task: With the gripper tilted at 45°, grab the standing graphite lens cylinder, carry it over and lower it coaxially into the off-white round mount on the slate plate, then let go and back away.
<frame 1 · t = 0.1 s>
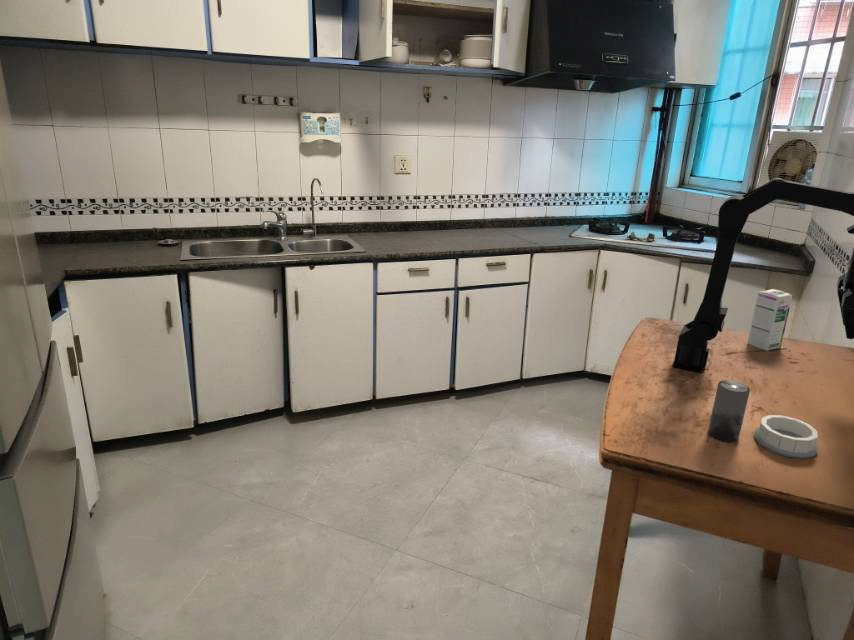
hand: (847, 331, 122), 15 cm above the table, tool pointing down, fingers open, 9 cm apart
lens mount: (784, 443, 108), on the table
syrup box: (763, 346, 153), on the table
lens: (723, 435, 110), on the table
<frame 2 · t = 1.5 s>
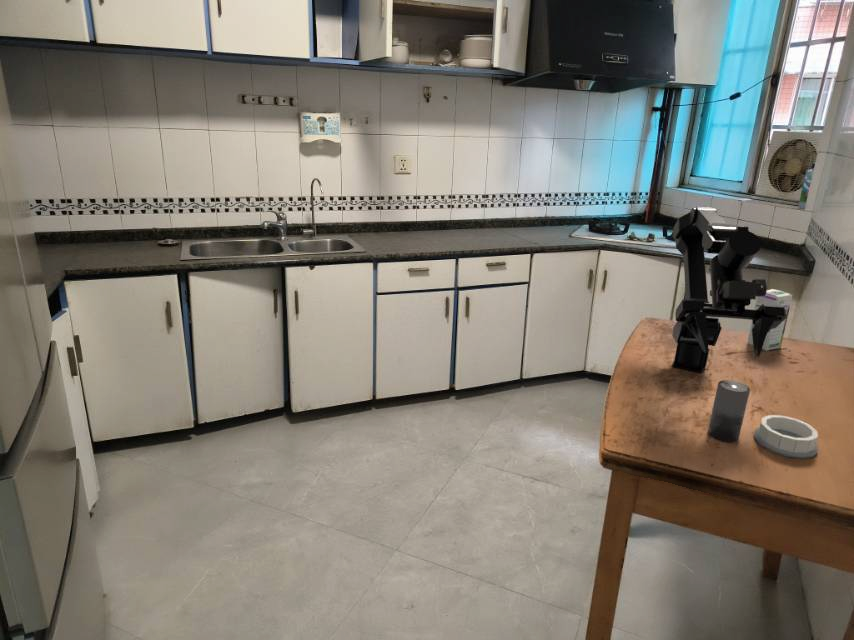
hand: (731, 354, 112), 13 cm above the table, tool tilted 45°, fingers open, 9 cm apart
nothing on the table moved.
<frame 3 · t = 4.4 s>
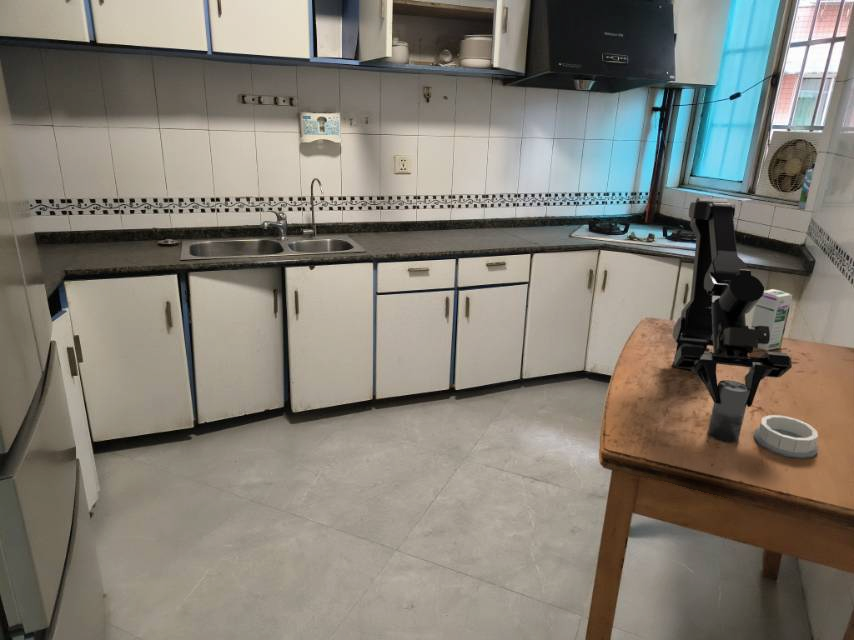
hand: (732, 404, 106), 7 cm above the table, tool tilted 45°, fingers closed on lens, 5 cm apart
lens: (723, 435, 110), on the table, touching gripper
everything else where it was.
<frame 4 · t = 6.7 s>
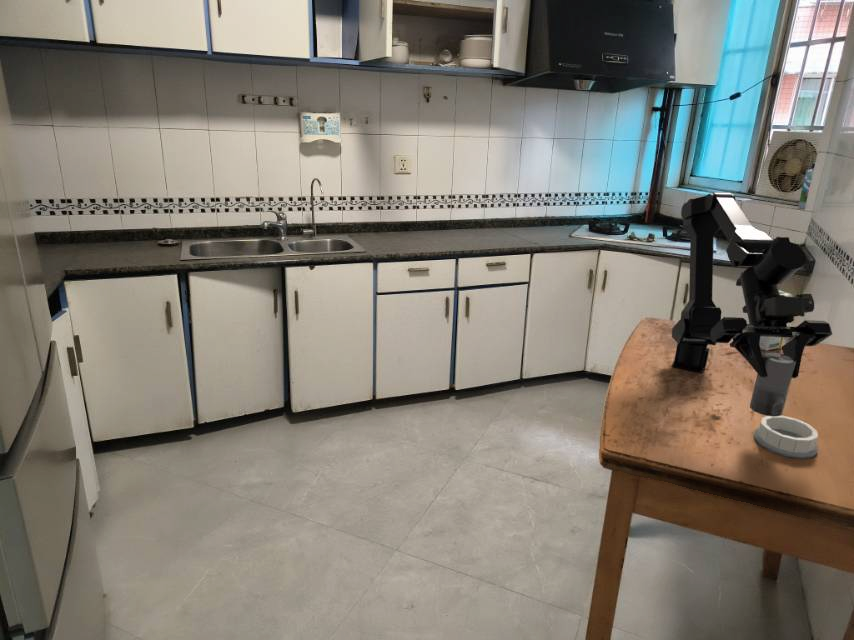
hand: (779, 376, 102), 14 cm above the table, tool tilted 45°, fingers closed on lens, 5 cm apart
lens: (765, 409, 106), point 6 cm above the table, touching gripper
everything else where it was.
when the fingers open (9 cm above the table, at t = 9.0 s): lens drops 1 cm, resting on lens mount.
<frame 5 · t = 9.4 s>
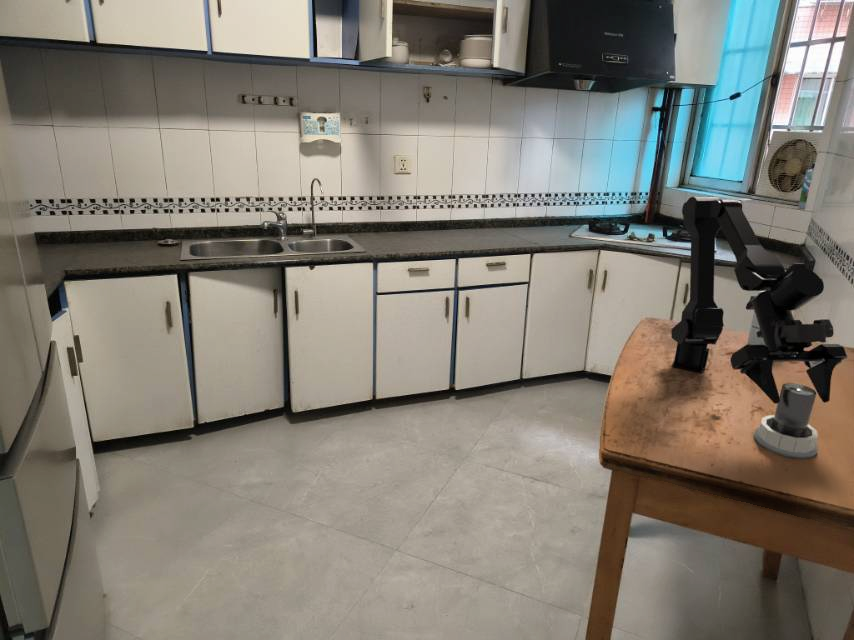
hand: (802, 402, 103), 9 cm above the table, tool tilted 45°, fingers open, 9 cm apart
lens: (785, 439, 107), point 1 cm above the table, touching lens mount
everything else where it was.
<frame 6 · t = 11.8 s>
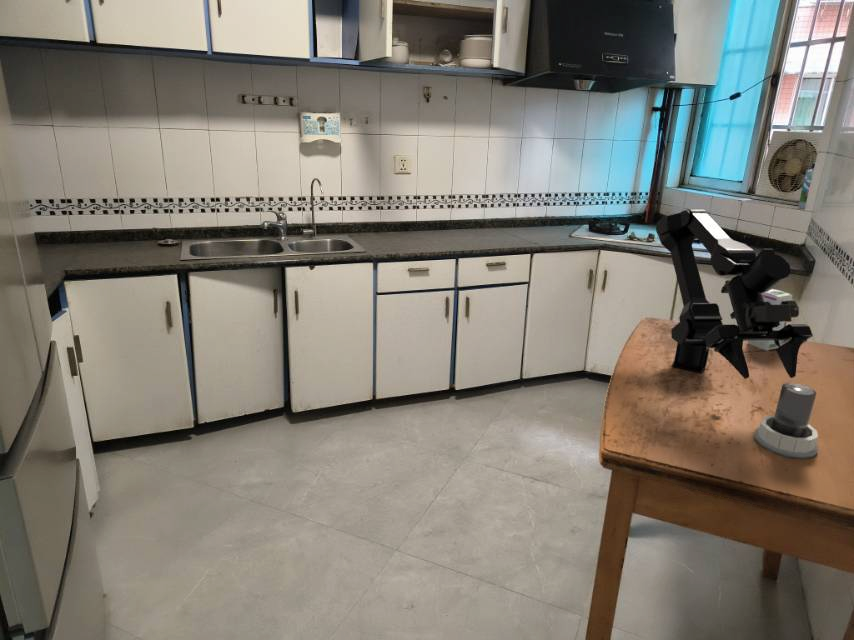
hand: (770, 377, 112), 10 cm above the table, tool tilted 45°, fingers open, 9 cm apart
nothing on the table moved.
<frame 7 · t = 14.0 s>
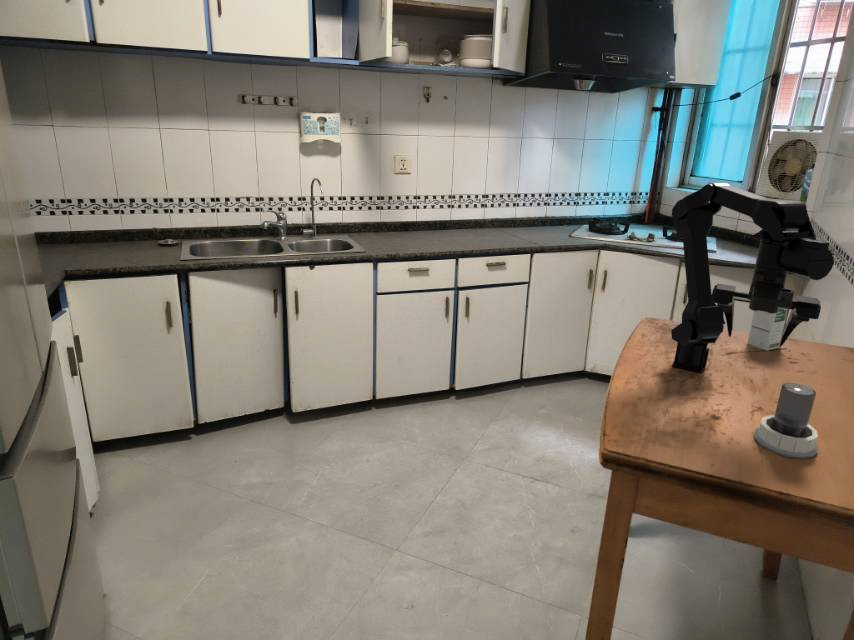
hand: (754, 340, 120), 13 cm above the table, tool pointing down, fingers open, 9 cm apart
nothing on the table moved.
at the end: lens 0.1 cm off-centre on the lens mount, point 0.8 cm above the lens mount's base; lens tilted 0°; the gripper is holding nothing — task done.
